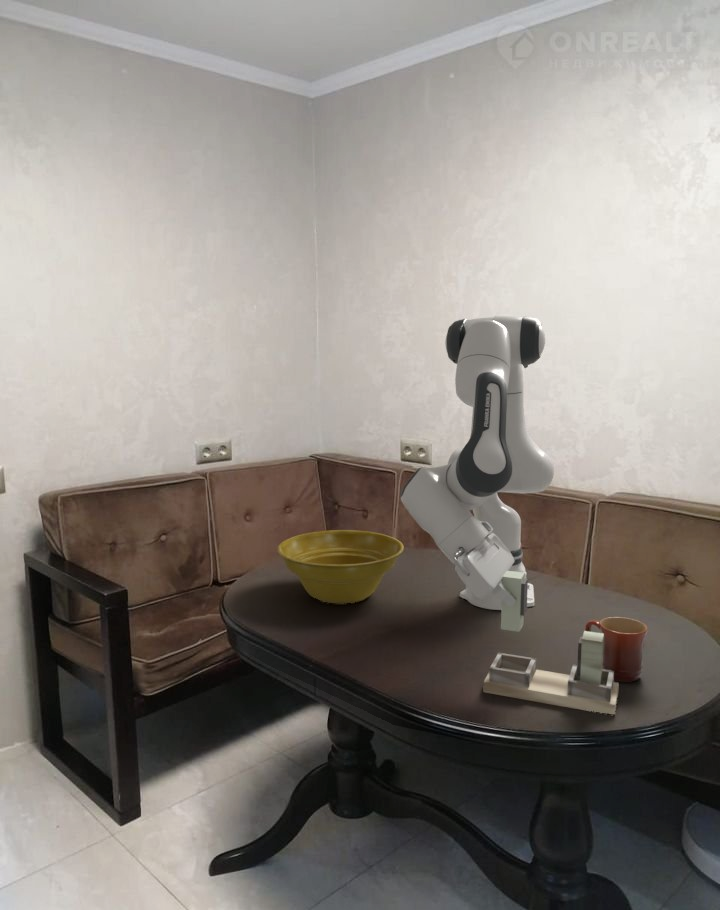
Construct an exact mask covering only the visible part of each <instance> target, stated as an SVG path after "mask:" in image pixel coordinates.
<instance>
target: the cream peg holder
mask: <svg viewBox="0 0 720 910" xmlns="http://www.w3.org/2000/svg"><path fill="white" fill-rule="evenodd" d="M603 644H604V634H603V633H599V632H595V631H591V632H589V631H585V630H583V634H582V636H579V640H578V644H577V649H578V650H577V664H572V667H571V669H570V673H569V674H566V673H560V672H553V671H548V670H547V671H546V670H543V669H537V658H535V657H531V656H530V657H527V656H522V655H518V654H517V655H516V654H510V653H509V654H508V653H503V652H498V653H497V655H495V656H496V657H495V658H494V659H493V662H492V663H491V665H490V667H489V669H488V670H489V671H488V673H487V675H486V677H485V678H484V680H483V687H482V688H483V691H482V692H483V693H486V694H492V695H498V696H503V697H509V698H513V699H514V698H515V699H518V700H519V699H520V700H525V701H530V702H536V703H541V704H548V705H553V706H559V707H564V708H570V709H575V710H581V711H587V712H591V711H592V713H596V712H600V713H599V714H602V713H609V714H615V715H616V712H615V711H616V710H617V705H616V704H618V699H617V698H618V697H619V689H620V688H619V686H620V685H619V683H620V682H617V681H615V680H614V671H612V670H606V669H602V666H603ZM593 711H594V712H593Z"/></svg>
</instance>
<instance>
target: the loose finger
mask: <svg viewBox="0 0 720 910" xmlns="http://www.w3.org/2000/svg"><path fill="white" fill-rule="evenodd" d="M528 581H529V579H528V578H526V579H525V573H523V572H515V571H507V572H506V573H505V574H504V576H503V578H502V585H503V586H504V588H505V589H506V590H507V591H508V592H509V593H512V594H513V595H514V596H515V597H516V598H517V600H516V603H515V604H514V605H512V606H511V607H508V606H507V605H506V604H505V603H504V602H503V600H502V606H501V610H500V611H501V612H500V613H501V614H500V615H501V616H500V618H501V619H500V629H501V630H503V631H504V630H505V631H511V632H517V633H519V632H521V630H522V627H523V626H524V625H525V624H524V617H525V614H526V612H527V610H528V607H527V588H528V583H529V582H528Z"/></svg>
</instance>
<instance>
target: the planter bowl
mask: <svg viewBox="0 0 720 910" xmlns="http://www.w3.org/2000/svg"><path fill="white" fill-rule="evenodd" d="M276 548H277V549H276V551H277V553H278V555H280V557H282V559H283V561H284V564H285V566H286V567H287V568H288V570H289V571H290V572H292V573H293V574H294V575H296V576H297V578H298V579H299V581H300V583H301V585H302V586H303V588H304V590H305V591H306V592H307V593H308V595H309V596H310V597H312V598H313V599H315V598H316V599H319V600H322V601H325V602H330V603H342V604H341V605H347V604H346V603H351V604H355V602H356V603H358V602H361V601H364V600H366V599H367V598H369V597H371V595H372V594H373V593H374V592H375V591H376V589H377V587H378V586H379V584H380V583H381V582H382V580H383V579H382V578H383V576H384V575H385V574H386V573H387V572H389V571H390V570H392V568H393V567H394V565H395V564H396V562H397V559H398V557H399V555H401V554H402V553H403V551H404V548H405V547H404V544H403V543H402V541H400V540H398V539H397V538H395V537H392V536H390V535H386V534H383V533H378V532H374V531H365V530H356V529H354V530H353V529H347V530H346V529H337V530H335V529H334V530H333V529H331V530H322V531H321V530H320V531H314V532H313V531H311V532H307V533H302V534H298V535H295V536H292V537H290V538H287V539H285V540H283V541H282V542H280V543H279V544H278V545H277V547H276ZM316 599H315V600H316ZM344 603H345V604H344Z"/></svg>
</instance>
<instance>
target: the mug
mask: <svg viewBox="0 0 720 910" xmlns="http://www.w3.org/2000/svg"><path fill="white" fill-rule="evenodd" d="M592 626H595V627H597V628H598V629H599V630H600V632H602V633H603V634H604V644H603V666H602V669H606V670H612V671H614V682H619V681H620V682H619V683H631V682H632V681H633V682H635V681H636V680H639V679H640V677H641V674H642V670H643V660H644V659H643V654H644V653H643V649H644V648H643V646H644V642H645V638H646V636H647V633H648V630H649V628H648V626H647V624H645V623H644V622H642V621H639V620H638V619H634V618H629V617H624V616H623V617H622V616H612V617H611V616H610V617H605V618H603V619H601V620H597V619H592V620H589V621H588V622H587V623H586V624H585V627H584V631H589V632H592ZM633 682H632V683H633Z"/></svg>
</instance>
